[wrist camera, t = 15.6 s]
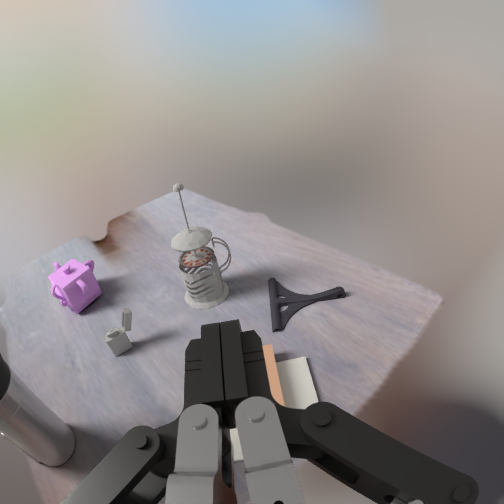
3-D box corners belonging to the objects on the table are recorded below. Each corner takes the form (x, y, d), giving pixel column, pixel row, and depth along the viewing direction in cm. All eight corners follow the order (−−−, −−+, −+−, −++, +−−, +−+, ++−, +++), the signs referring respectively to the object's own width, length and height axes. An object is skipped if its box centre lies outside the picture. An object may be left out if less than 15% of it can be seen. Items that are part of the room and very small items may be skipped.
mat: (213, 463, 35) (212, 462, 35) (209, 375, 49) (208, 373, 48) (329, 444, 36) (330, 442, 35) (305, 358, 49) (305, 356, 49)
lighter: (115, 356, 54) (97, 328, 49) (113, 351, 55) (95, 323, 51) (145, 339, 57) (130, 309, 53) (142, 334, 58) (127, 305, 54)
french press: (183, 284, 70) (152, 181, 57) (233, 272, 72) (211, 167, 58) (186, 313, 62) (148, 200, 48) (241, 300, 63) (217, 183, 50)
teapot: (50, 301, 71) (33, 271, 65) (86, 273, 80) (72, 243, 74) (78, 327, 62) (58, 293, 56) (120, 292, 71) (104, 257, 65)
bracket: (353, 323, 54) (354, 313, 53) (272, 334, 55) (271, 324, 54) (336, 276, 67) (337, 265, 65) (268, 284, 67) (267, 274, 66)
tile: (243, 426, 37) (235, 350, 49) (245, 432, 39) (237, 358, 50) (287, 419, 38) (271, 344, 49) (288, 425, 39) (272, 352, 51)
